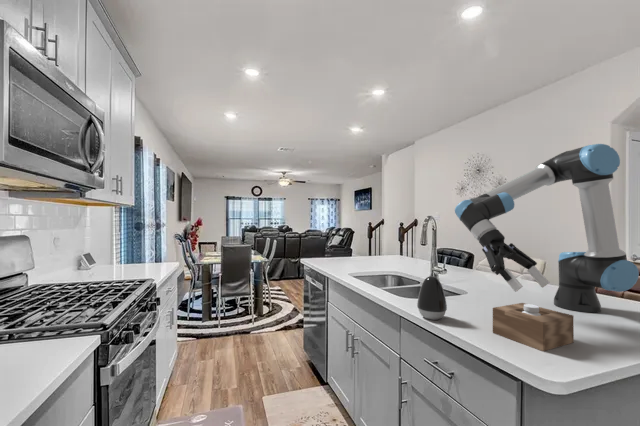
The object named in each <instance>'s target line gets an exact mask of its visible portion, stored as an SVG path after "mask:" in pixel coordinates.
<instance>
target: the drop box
mask: <svg viewBox="0 0 640 426" xmlns="http://www.w3.org/2000/svg"><path fill="white" fill-rule="evenodd" d="M524 304H526V303H525V302H519V303H513V304H508V305H507V304H506V305H502V306H496V307H492V334H495V335H497V336H500V337H503V338H505V339H508V340H511V341H513V342H517V343H519V344H522V345H525V346H526V347H527V346H528V347H530V348H533V349H536V350H538V351H541V352H546V351H549V350H552V349H556V348H559V347H564V346H567V345H570V344H573V343H574V338H575V337H574V335H575V334H574V315H573V314H569V313H565V312H562V311H556V310H554V309H553V310H552V309H549V308H545V307H540V306H539V312H538V313H539V314H541V315H540V316H534V315H530V314H527V313H523V311H525V310H524Z"/></svg>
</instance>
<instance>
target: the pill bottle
mask: <svg viewBox="0 0 640 426" xmlns="http://www.w3.org/2000/svg"><path fill="white" fill-rule="evenodd" d="M539 307H540V306H538V305H536V304H531V303H530V304H529V303H525V304H524V310H525V311H523V313H527V314H530V315H534V316H540V315H541V314H539V313H538V312H539Z"/></svg>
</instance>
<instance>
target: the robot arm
mask: <svg viewBox="0 0 640 426" xmlns="http://www.w3.org/2000/svg"><path fill="white" fill-rule="evenodd" d="M620 166H621V158H620V155H619V153H618V152H617V151H616V149H615V148H613V147H611V146H610V145H609V144H605V143H594V144H588V145H585V146H581V147H577V148H574V149H570V150H566V151H564V152H561V153H559V154H557V155H555V156H553V157H551V158H549V159H548V160H545V161H543V162H542V163H540V164H538V165H537V166H536V167H535V168H534V169H533V170H531V171H529V172H527V173H525V174H523V175H520V176H519V177H516V178H514V179H512V180H510V181H507V182H506V183H503V184H502V185H499V186H498V187H495V188H493V189H491V190H489V191H487V192H485V193H482V194H481V195H479V196H476V197H473V198H472V197H471V198H469V199H464V200H462V201H460V202H459V203H457V205H456V206H455V208H454V214H456V217H457V218H458V219H459V221H460V222H462V224H463V225H464V226H465V227H466V228H467V230H468V231H469V232H470V233H471V234H472V235H473V237H474V239H476V241H478V243H479V245H481V247H482V248H481V251H482V252H483V253H484V255H485V258H486V260H487V263H488V265H489V268H490V270H491V272H493V273H494V275H496V276H498V275H500V276H501V277H502V278H503V279H504V280H505V282H506V283H507V284H508V285H509V286H510V288H511V289H512V290H513V292H514V293H516V292H518V291H519V290H520V289H522V288H523V287H524V286H523V285H522V283H520V281H519V280H518V279H517V278H516V276H515V275H514V274H513V273H512V272H511V271H510V270H509V268H506V265H505V259H507V260H511V261H512V262H515V263H516V264H518V265H520V266H521V267H523V268H525V269H527V270H526V272H527V273H528V274H529V275H530V276H531V277H532V279H534V280H535V282H536V283H537V284H539V286H540V287H541V288H544V287H546V286H547V285H549V284H550V281H549V280H548V279H547V277H545V276H544V274H543V273H542V272H541V271H540V270H539V269H538V268H537V267H536V266H537V265H538V262H537V261H535V260H534V259H533V258H531V257H530V256H529V255H528V254H526V253H525V252H524V251H522V250H521V249H519V248H518V247H517V246H516V245H515V244H513V243H509V244H507V243H506V242H505V235H504V234H502V232H501V231H500V230H499V229H497V228H498V227H496V226H495V225H494V224H493V222H492V221H491V220H492V219H494V218H497V217H499V216H502V215H504V214H507V213H509V212H511V211H513V210H514V208H515V200H517V199H519V198H522V196H525V195H527V194H530V193H531V192H533V191H536V190H538V189H540V188H542V187H544V186H549V187H550V186H552V185H554V184H557V183H560V182H565V181H570V180H571V184H572V185H573V186H574V187H576V188H577V189H578V194H579V199H580V200H579V201H580V206H581V212H582V219H583V225H584V230H585V237H586V243H587V248H588V249H587V250H586V251H564V252H560V253H559V255H558V261H557V263H558V288H557V290H556V293H555V294H554V298H553V305H554V306H556V307H558V308H561V309H565V310H570V311H575V312H580V313H581V312H584V313H599V312H601V311H602V304H601V302H600V300H599V297H598V295H597V292H596V288H599V289H602V290H604V291H605V290H606V291H609V292H611V291H612V292H618V293H619V292H620V293H622V292H623V293H624V292H625V291H628V290H631V289H632V288H633V287H634V286H635V285H636V284H637V282H638V280H639V275H640V273H639V272H640V271H639V268H638V266H637V265H636V264H635V263H634V262H633V261H630V260H628V258H627V253H626V251H624V250H622V249H621V248H620V245H619V238H618V233H617V227H616V226H617V225H616V221H615V213H614V207H613V202H612V196H611V191H610V183H611V182H612V180H614V173H615V172H617V171H618V169H619V168H618V167H620Z"/></svg>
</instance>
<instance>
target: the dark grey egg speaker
mask: <svg viewBox="0 0 640 426" xmlns="http://www.w3.org/2000/svg"><path fill="white" fill-rule="evenodd" d="M416 304H417V305H416V306H417V309H418V312H419V314H420V315H421V316H422V317H423V318H425V319H427V320H430V321H431V320H433V321H437V320H441V319H442V318H444V316H445V314H446V311H448V310H447V309H448V307H447V306H448V305H447V297H446V295H445V290H444V287H443V286H442V282H441V281H440V280H439V278H438V277H435V276H433V275H430V276H429V275H428V276H427V277H426V278H425V279H424V280H423V282H422V283H421V286H420V290H419V292H418V297H417V303H416Z"/></svg>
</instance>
